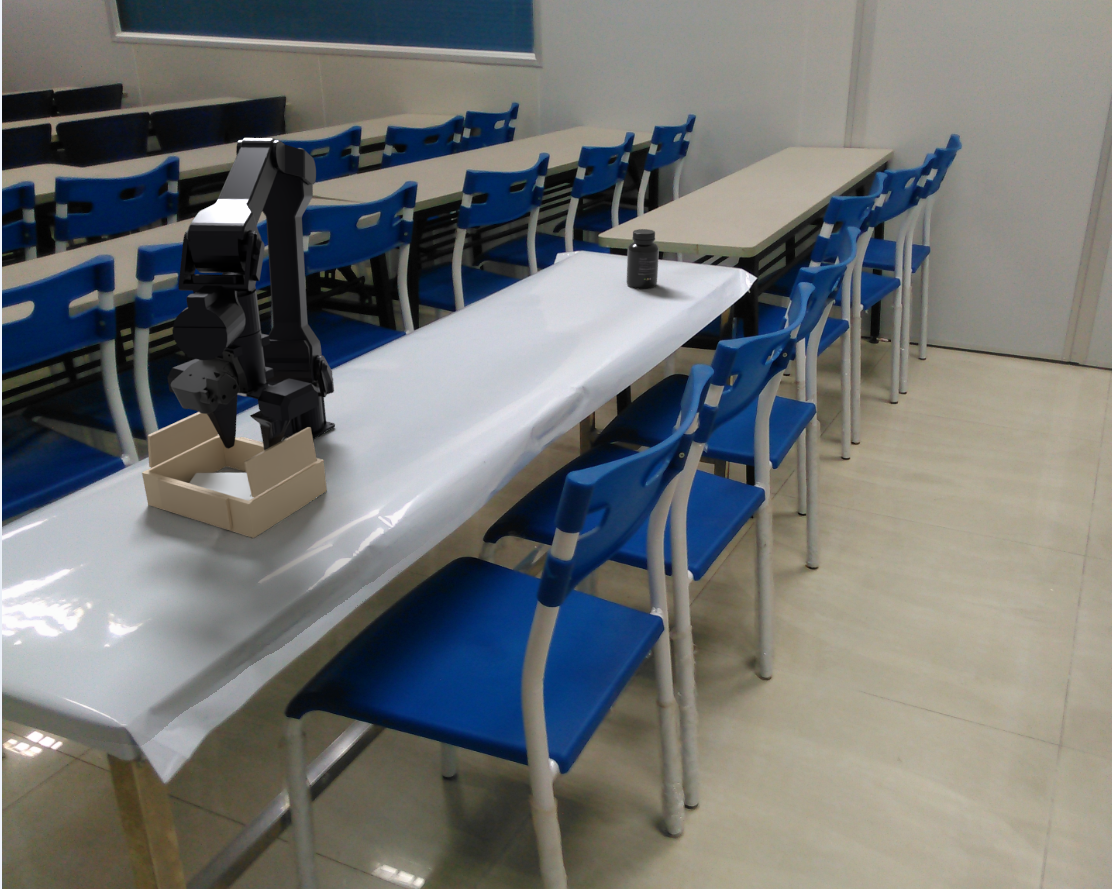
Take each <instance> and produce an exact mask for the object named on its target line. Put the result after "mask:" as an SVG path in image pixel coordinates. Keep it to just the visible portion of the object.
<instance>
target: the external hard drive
mask: <svg viewBox="0 0 1112 889" xmlns="http://www.w3.org/2000/svg"><path fill="white" fill-rule="evenodd" d="M190 484H193V485H196V486H200V487H203V488H207V489H210V490H213V491H217V492H220V493H224V494H227V495H231V496H234V497H237V498H241V499H244V500H248V501H249V500H251V499H252V498H254V497H252V495H251V491H250V486H249V482H248V477H247V473H246V472H215V473H196V474H195V475H194V477H193V478H192V480H191V481H190Z"/></svg>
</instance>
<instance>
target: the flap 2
mask: <svg viewBox="0 0 1112 889" xmlns="http://www.w3.org/2000/svg"><path fill="white" fill-rule="evenodd" d="M317 458H318V457H317V454H316V448H315V444H314V439H313V437H312V432H311V427H307V428H305V429H303V430H302V431H300V432H298V433H296V434H294V435H292V436H290V437H289V438H287V437H286V438H285V439H282V441H281V442H279V443H277V444H276V445H274V446H272V447H270V448H268V449H266V450H264V451H262V452H261V453H259V454H257V455H255V456H253V457H251V458H249V459H248V460H246V461H244V464H245V468H246V472H245V473H247V477H248V482H249V486H250V491H251V495H252V497H256V496H258V495H260V494H261V493H263V492H265V491H266V490H268V489H270V488H272V487H273V486H275V485H277V484H278V483H280V482H282V481H283V480H285V479H287V478H289V477H290V476H292V475H294V474H295V473H297V472H299V471H301V470H302V469H304V468H306V467H307V466H309V465H311V464H312V463H314V462H316V461H317Z"/></svg>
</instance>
